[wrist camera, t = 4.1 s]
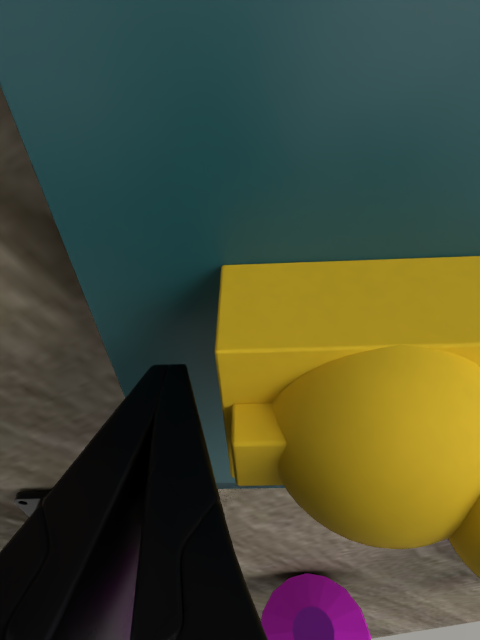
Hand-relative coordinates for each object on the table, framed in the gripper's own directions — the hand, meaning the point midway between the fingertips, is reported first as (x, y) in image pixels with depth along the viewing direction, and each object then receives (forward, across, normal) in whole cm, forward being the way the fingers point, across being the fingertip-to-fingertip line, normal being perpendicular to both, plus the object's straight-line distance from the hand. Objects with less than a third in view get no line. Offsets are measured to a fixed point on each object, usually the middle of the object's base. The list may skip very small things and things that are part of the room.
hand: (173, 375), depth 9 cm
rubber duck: (+1, -4, 0) cm, 4 cm away
